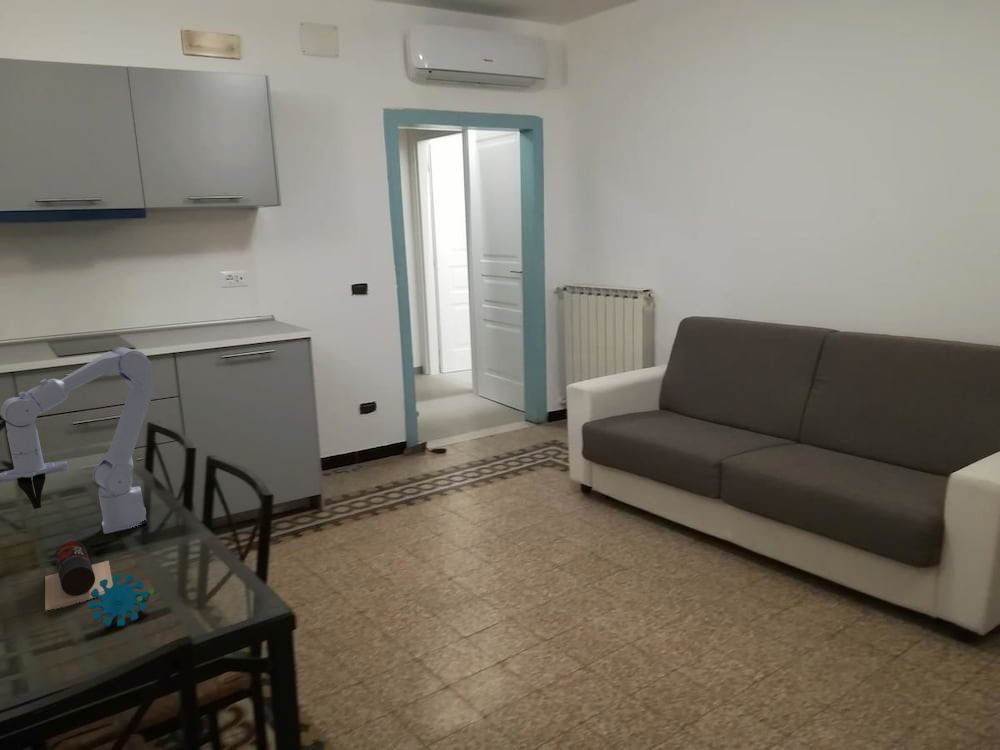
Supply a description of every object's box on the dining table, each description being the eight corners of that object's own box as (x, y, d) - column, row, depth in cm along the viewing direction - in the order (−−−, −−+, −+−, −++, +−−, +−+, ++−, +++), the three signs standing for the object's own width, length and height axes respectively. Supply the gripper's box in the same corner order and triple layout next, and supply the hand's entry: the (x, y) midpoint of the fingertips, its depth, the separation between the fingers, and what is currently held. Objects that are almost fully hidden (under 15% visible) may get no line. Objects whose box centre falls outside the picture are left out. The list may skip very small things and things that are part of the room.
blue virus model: (90, 629, 132) (86, 577, 137) (89, 640, 137) (85, 589, 141) (157, 617, 139) (151, 567, 143) (154, 628, 143) (148, 579, 147)
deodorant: (55, 570, 157) (61, 598, 145) (54, 543, 156) (60, 570, 144) (86, 564, 161) (95, 592, 149) (85, 539, 160) (94, 564, 148)
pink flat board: (109, 562, 162) (108, 560, 162) (114, 593, 148) (114, 590, 148) (45, 578, 156) (45, 575, 156) (45, 611, 143) (45, 609, 142)
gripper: (-15, 462, 158) (-2, 520, 161) (63, 448, 165) (74, 504, 168) (-12, 453, 164) (0, 510, 167) (63, 440, 171) (73, 495, 174)
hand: (37, 506), depth 168 cm, fingers closed
